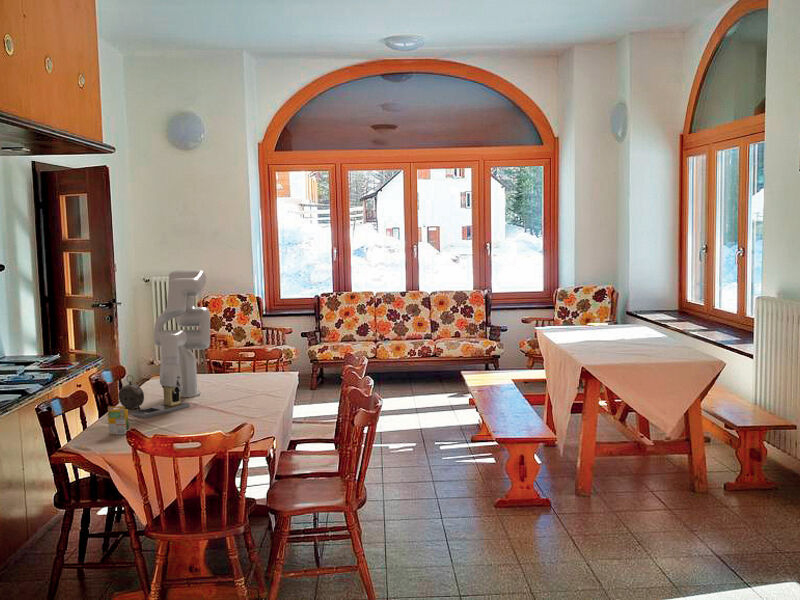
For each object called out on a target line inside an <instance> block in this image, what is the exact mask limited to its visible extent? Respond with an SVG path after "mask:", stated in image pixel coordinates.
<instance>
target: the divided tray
mask: <svg viewBox="0 0 800 600" xmlns="http://www.w3.org/2000/svg"><path fill="white" fill-rule="evenodd" d="M180 404H181V405H179V406H175V407H166V406H164V403H162V404H159V405H154V406H151V407H147V408H142V409H138V410H133V411H132V412H131V416H133V417H137V418H143V419H149V418H152V417H156V416H159V415H163V414H168V413H170V412H171V413H172V412H176V411H178V410H179V411H180V410H183V409H188V408H190V407H191V405H190V403H189V402H185V401H180Z"/></svg>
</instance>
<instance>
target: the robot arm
mask: <svg viewBox="0 0 800 600" xmlns="http://www.w3.org/2000/svg"><path fill="white" fill-rule="evenodd" d="M168 281H169V282H168V292H167V299H166V300H167V301H166V308H165V310H164V311H163V312H161V314H160V315H158V318H157V319H156V321H155V323H154V327H153V329H154V330H153V343H154V345H155V346H156V347H159V348H160V355H161V357H160V359H161V360H160V361H161V363H160V366H159V384H160V385H161V388H163V387H164V386H167V387H172V388H173V392H174V393H173V402H178V401H180V402H181V398H192V397H197V396H200V395H201V393H202V391H201V390H198V378H197V377H198V375H197V373H198V372H197V357H196V355H195V353H193V352H192V351H193V350H206V349H208V348H209V347H210V345H211V314H210V310H209V309H208V308H207V307H203V306H195V297H197V296H199V295H201V293H202V292H203V290H204V287H206V283H207V282H206V281H207V276H206V273H205V272H204V270H200V269H198V270H197V269H196V270H195V269H194V270H193V269H191V270H190V269H188V270H187V269H185V270H174V271H171V272H169V275H168ZM173 319H176V320H175V321H176V324H177V326H178V327H182V328H197V327H198V328H199V329H163V327H164V326H165V324H166V323H168V322H169V321H170V320H173ZM175 387H177V388H176V389H175ZM179 392H180V398H179Z"/></svg>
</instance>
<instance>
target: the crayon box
mask: <svg viewBox="0 0 800 600" xmlns="http://www.w3.org/2000/svg"><path fill="white" fill-rule="evenodd" d="M116 408H117V409H116ZM107 419H108V434H111V435H125V432H126V431H127V430H128V429H129V430H130V426H129V410H128V409H127V408H125V406H123V405H121V406H119V405H118V406H117V405H116V406H107Z"/></svg>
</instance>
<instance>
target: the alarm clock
mask: <svg viewBox="0 0 800 600" xmlns="http://www.w3.org/2000/svg"><path fill="white" fill-rule="evenodd" d="M128 377H131V378H132V380H130V381H129V380H128V379H126V381H127V382H128V384H125V385H124V386H122V387H121V388H120V390H119V392H118V400H119V402H120V404H121V406H125V409H128V411H129V410H134V409H136V408H138V410H141V406H142V405H143V403H144V401H145V394H144V391H143V389H142V387H140V386H139V385H138V384H136V383H132V382H133V381H134V377H133V375H131V374H129V375H127V376H126V378H128Z"/></svg>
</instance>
